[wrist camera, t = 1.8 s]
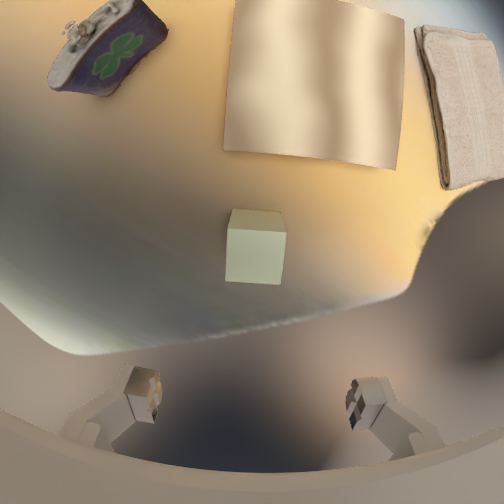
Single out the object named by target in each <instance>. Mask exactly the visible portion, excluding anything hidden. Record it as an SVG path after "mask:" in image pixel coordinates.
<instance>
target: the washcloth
mask: <svg viewBox="0 0 504 504" xmlns="http://www.w3.org/2000/svg"><path fill="white" fill-rule="evenodd" d="M415 32H416V37H417V50H418V56H419V61H420V66H421V70H422V74H423V78H424V81H425V86H426V90H427V96H428V100H429V106H430V111H431V117H432V122H433V128H434V134H435V140H436V148H437V159H438V168H439V176H440V181H441V184H442V186H443V188H444V189H445V190H446V191H447V190H454V189H458V188H461V187H464V186H466V185H468V184H471V183H473V182H477V181H480V180H485V181H491V180H497V179H501V178H504V85H503V81H502V75H501V71H500V66H499V62H498V56H497V53H496V51H495V50H496V49H495V46H494V45H493V43H492V41H491V40H488V38H487V37H486V36H485V35H484V34H483V33H481V32H479V33H471V32H466V31H461V30H456V29H450V28H445V27H437V26H429V25H423V27H417V28H415Z"/></svg>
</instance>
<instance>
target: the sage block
mask: <svg viewBox="0 0 504 504" xmlns="http://www.w3.org/2000/svg"><path fill="white" fill-rule="evenodd" d="M286 236H287V231H286V228H285V225H284V222H283V219H282V216H281V212H275V211H261V210H247V209H232V213H231V217H230V221H229V224H228V228H227V251H226V277H225V281H230V282H244V283H260V284H276V285H281V277H282V269H283V261H284V253H285V245H286Z"/></svg>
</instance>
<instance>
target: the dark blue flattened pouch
mask: <svg viewBox="0 0 504 504" xmlns="http://www.w3.org/2000/svg"><path fill="white" fill-rule="evenodd" d="M74 22H75V21H71V22H69V23H68V24H66V26H65V29H69V28H70V26H71V25H73V24H74ZM168 31H169V29H167V28H166V25H165V24H164V23H163V22H162V21H161V19H159V18H158V16H157V15H155V14H154V13H153V12H152V11H151V10H150V9H149V7H148V6H147V5H146V4H145V3H144V2H143V1H142V0H109V1H108V2H107V3H106V4H105V5H103V6H102V7H100V8H99V9H98V10H97V11H95V12H94V13H93V14H92V15H91V16H90V17H89V18H88V19H86V20H84V21H82V22H81V23H80V25H79V27H78V24H77V25H75V26H73V27H72V29H70V30H69V32H68V33H67V37H68V39H69V41H68V42H67V43H66V45H65V46H64V47H63V49H62V51H61V52H60V54H59V56H58V57H57V59H56V60H55V62H54V63H53V66H52V68H51V69H50V71H49V74H48V77H47V78H48V84H49V86H50V88H51V89H53V90H55V91H72V92H80V93H85V94H93V95H98V96H108V95H110V94H111V93H113V92H114V91H115V90H116V89H118V88H119V87H120V86H121V84H120V83H121V82H122V81H123V80H124V79H125V78H126V77H127V76H128V75H129V74H131V73H132V72H133V71H135V69H136V68H137V67H138V65H139V63H140V61H141V59H142V58H144V57H147V55H148V53H149V52H150V51H151V50H153V49H156V47H157V46H158V45H160V44H161V43H162V42H163V41H165V40H166V37H167V34H168ZM64 34H65V31H63V32H62V35H64Z"/></svg>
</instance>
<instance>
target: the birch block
mask: <svg viewBox="0 0 504 504" xmlns="http://www.w3.org/2000/svg"><path fill="white" fill-rule="evenodd" d="M404 67H405V33H404V19H401V18H399V17H396V16H393V15H390V14H387V13H383V12H380V11H377V10H373V9H370V8H366V7H363V6H359V5H355V4H351V3H347V2H342V1H338V0H236V1H235V10H234V19H233V29H232V39H231V50H230V61H229V73H228V85H227V98H226V112H225V127H224V143H223V150H226V151H244V152H258V153H271V154H282V155H292V156H302V157H310V158H319V159H327V160H334V161H341V162H348V163H355V164H361V165H367V166H373V167H379V168H384V169H390V170H395V171H396V164H397V156H398V149H399V140H400V131H401V120H402V108H403V92H404Z"/></svg>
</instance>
